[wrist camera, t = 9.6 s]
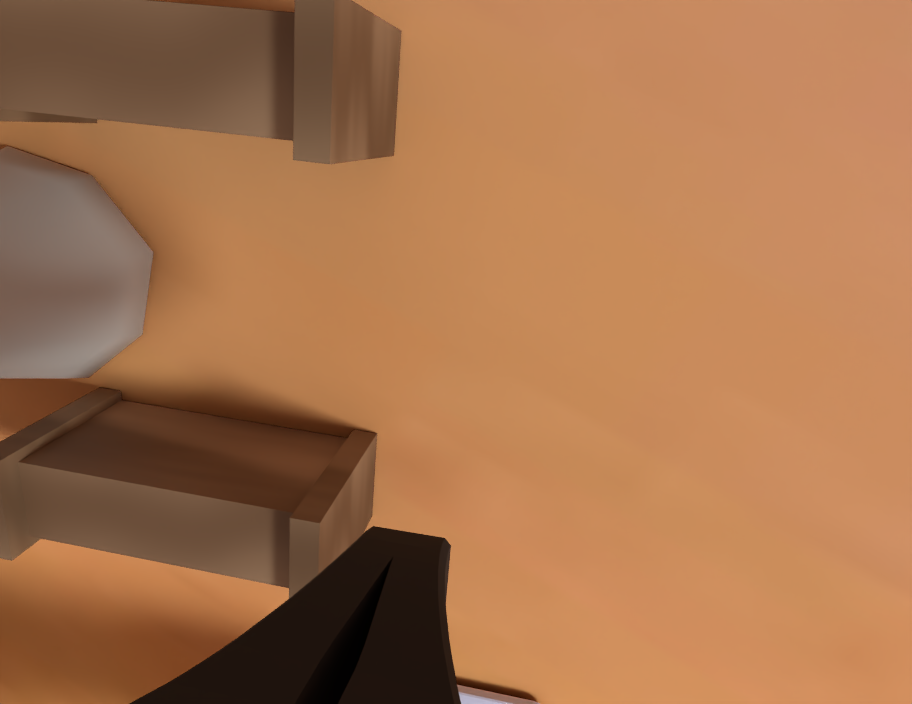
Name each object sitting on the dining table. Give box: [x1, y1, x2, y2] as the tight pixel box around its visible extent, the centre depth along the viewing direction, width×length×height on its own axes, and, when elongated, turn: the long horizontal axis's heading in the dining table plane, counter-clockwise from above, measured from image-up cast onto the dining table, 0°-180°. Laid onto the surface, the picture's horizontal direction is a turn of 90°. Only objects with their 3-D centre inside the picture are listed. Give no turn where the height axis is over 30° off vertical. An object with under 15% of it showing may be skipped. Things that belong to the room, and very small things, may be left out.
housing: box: [0, 0, 401, 598], centre depth 18 cm, size 15×10×5 cm, turn 175°
